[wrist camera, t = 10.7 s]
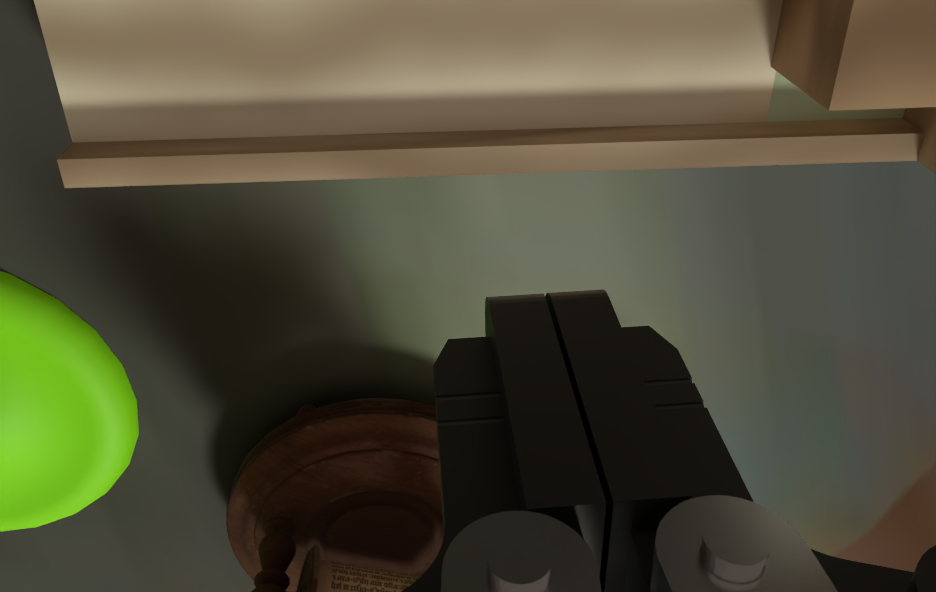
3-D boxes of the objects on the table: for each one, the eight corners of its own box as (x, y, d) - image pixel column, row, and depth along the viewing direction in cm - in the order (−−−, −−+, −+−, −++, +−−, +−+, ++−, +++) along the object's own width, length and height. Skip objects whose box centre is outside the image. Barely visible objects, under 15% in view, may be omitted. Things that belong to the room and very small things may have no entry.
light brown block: (800, -95, 25) (870, -74, 22) (956, -98, 26) (1053, -78, 22) (770, 66, 28) (829, 110, 24) (912, 62, 28) (992, 105, 25)
